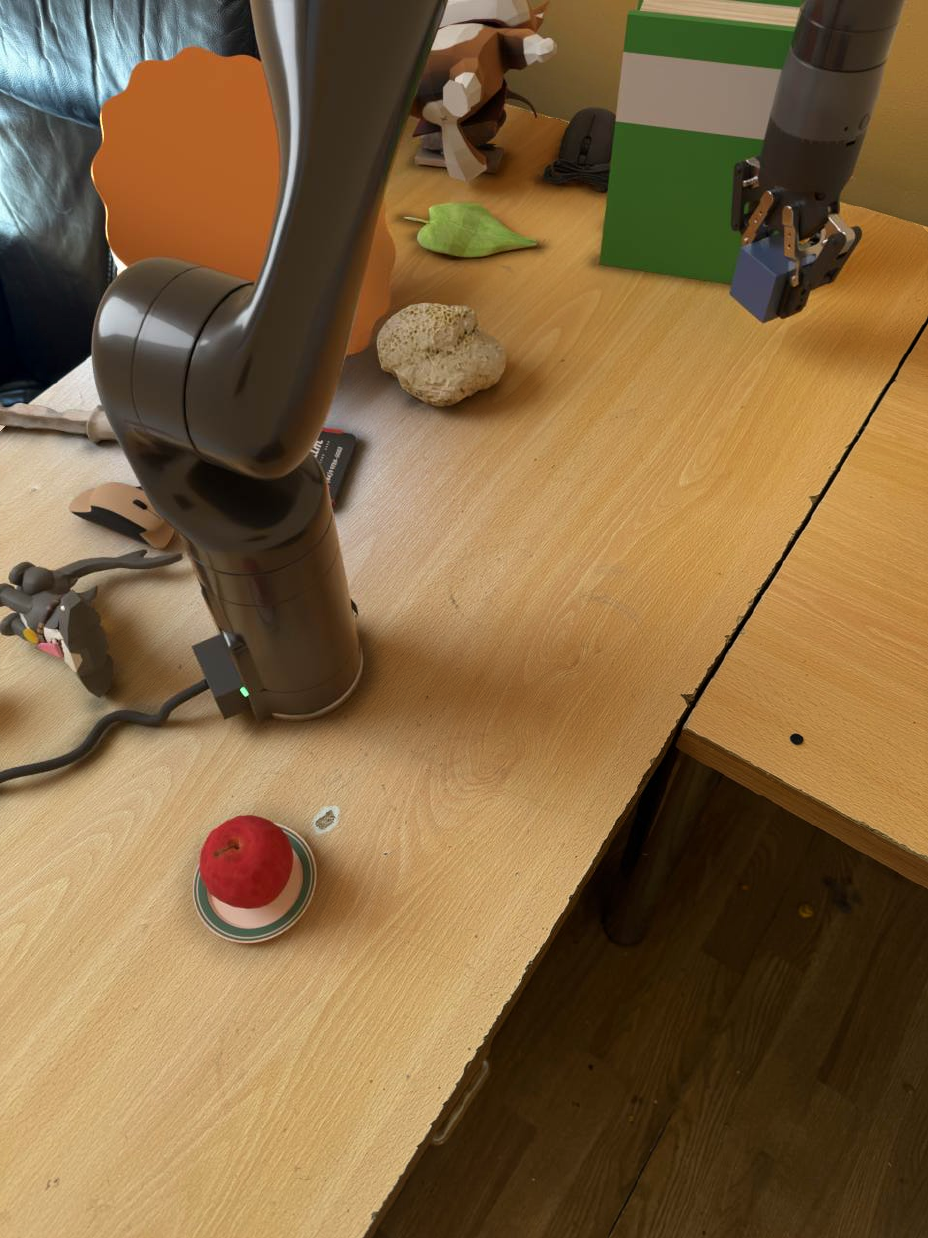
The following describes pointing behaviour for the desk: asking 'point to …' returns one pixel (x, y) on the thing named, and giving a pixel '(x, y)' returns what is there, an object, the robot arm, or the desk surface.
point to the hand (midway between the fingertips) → (767, 297)
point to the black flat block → (334, 457)
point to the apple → (253, 879)
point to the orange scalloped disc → (205, 173)
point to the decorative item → (439, 353)
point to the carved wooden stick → (59, 420)
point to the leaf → (467, 231)
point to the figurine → (475, 135)
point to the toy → (475, 72)
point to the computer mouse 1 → (123, 513)
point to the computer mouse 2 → (585, 150)
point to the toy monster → (68, 613)
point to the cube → (761, 277)
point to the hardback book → (690, 130)
